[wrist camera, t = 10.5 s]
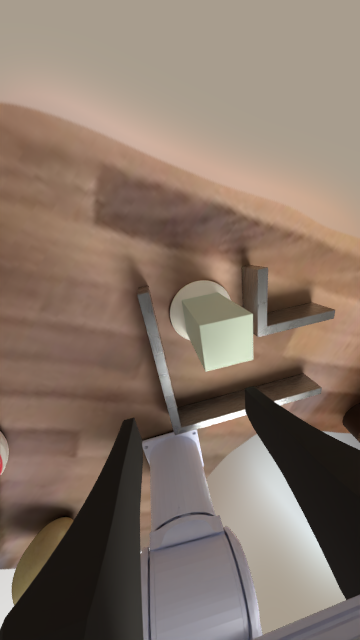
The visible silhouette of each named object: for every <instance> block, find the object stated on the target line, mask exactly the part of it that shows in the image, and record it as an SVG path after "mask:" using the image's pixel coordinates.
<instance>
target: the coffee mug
mask: <svg viewBox="0 0 360 640" xmlns="http://www.w3.org/2000/svg"><path fill="white" fill-rule="evenodd" d="M343 425H344V426H345V427H346V429H347V430H348V431H349V432H350V433H351V434H352V435H353V436H354V437H355V438H356V439H357V440H358V441H359V442H360V403H359V404H357V405H355V406H354V407H353V408H351V409H350V410H349V411H348V412H347V413H346V415H345V417H344V419H343Z"/></svg>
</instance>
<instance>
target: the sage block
mask: <svg viewBox="0 0 360 640" xmlns="http://www.w3.org/2000/svg"><path fill="white" fill-rule="evenodd" d="M182 306H183V312H184V318H185V324H186V331H187V335H188V337H189V339H190V341H191V343H192V345H193V347H194V349H195V351H196V353H197V355H198V357H199V359H200V361H201V363H202V365H203V367H204V369H205V372H206V371H210V370H214V369H218V368H222V367H226V366H230V365H234V364H238V363H242V362H246V361H250V360H253V314H252V313H251V312H249V311H247V310H246V309H244V308H242V307H241V306H239V305H238V304H236V303H234V302H233V301H231V300H229V299H228V298H226V297H224V296H223V295H221V294H220V293H218V292H217V293H213V294H208V295H203V296H198V297H193V298H189V299H184V300H182Z"/></svg>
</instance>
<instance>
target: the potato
mask: <svg viewBox="0 0 360 640" xmlns="http://www.w3.org/2000/svg"><path fill="white" fill-rule="evenodd" d="M73 521H74V520H72V519H71V518H69V517H62V518H58V519H56V520H54V521H52V522H51V523H49V524H48V525H47V526H45V527H44V528H43V529H42V530H41V531H40V532H39V533H38V534H37V535H36V537H35V538H34V539H33V541H32V542H31V543H30V545H29V546H28V548H27V549H26V550H25V552H24V554H23V555H22V557H21V559H20V561H19V563H18V565H17V568H16V570H15V573H14V577H13V582H12V599H13V603H14V605H15V604H16V603H17V601H18V600H19V599H20V597H21V596H22V595H23V593H24V592H25V591H26V589H27V588H28V587H29V585H30V584H31V583H32V581H33V580H34V579H35V577H36V576H37V574H38V573H39V572H40V570H41V569H42V567H43V566H44V565H45V563H46V562H47V560H48V559H49V557H50V556H51V554H52V553H53V551H54V550H55V548H56V547H57V545H58V544H59V543H60V541H61V540H62V538H63V537H64V535H65V534H66V532H67V530H68V529H69V527H70V526H71V524H72V523H73Z"/></svg>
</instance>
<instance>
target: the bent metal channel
mask: <svg viewBox="0 0 360 640" xmlns="http://www.w3.org/2000/svg"><path fill="white" fill-rule="evenodd" d="M242 286H243V308H244V309H246V310H247V311H249V312H251V313H252V314H253V334H255V335H256V336H257V337H260V336H264V335H268V334H272V333H276V332H281V331H285V330H289V329H293V328H297V327H301V326H305V325H309V324H313V323H317V322H321V321H325V320H329V319H333V318H334V314H335V310H334V309H331V308H328V307H325V306H321V305H318V304H315V303H308V304H303V305H299V306H295V307H291V308H286V309H282V310H278V311H273V312H269V313H267V292H268V268H267V267H260V266H254V265H248V266H243V267H242ZM137 296H138V299H139V303H140V307H141V311H142V314H143V318H144V322H145V326H146V329H147V333H148V337H149V341H150V344H151V348H152V352H153V356H154V359H155V363H156V367H157V371H158V374H159V378H160V382H161V386H162V389H163V393H164V397H165V401H166V404H167V408H168V412H169V416H170V419H171V423H172V427H173V431H174V434H175V435H178V434H182V433H185V432H189V431H192V430H196V429H199V428H203V427H206V426H210V425H213V424H217V423H220V422H224V421H227V420H230V419H234V418H237V417H241V416H244V415H247V414H246V412H245V390H241V391H238V392H234V393H230V394H227V395H223V396H219V397H216V398H212V399H208V400H205V401H201V402H197V403H194V404H190V405H186V406H183V407H179V408H177V404H176V400H175V396H174V391H173V387H172V383H171V379H170V375H169V370H168V366H167V362H166V358H165V354H164V349H163V345H162V341H161V337H160V333H159V328H158V324H157V320H156V316H155V312H154V307H153V303H152V299H151V295H150V290H149V286H145V287H140V288H138V293H137ZM255 388H257V389H258V390H259V391H261V392H262V393H263V394H265V395H266V396H267V397H269V398H270V399H272V400H273V401H274V402H276V403H277V404H279V405H283V404H286V403H289V402H293V401H296V400H300V399H303V398H307V397H310V396H314V395H317V394H321V389H322V388H321V387H320V386H319V385H318V384H316V383H315V382H314V381H313V380H311V379H310V378H309V377H308V376H306V375H305V374H304V373H303V374H300V375H296V376H292V377H289V378H285V379H282V380H278V381H274V382H271V383H267V384H263V385H260V386H256V387H255Z"/></svg>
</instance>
